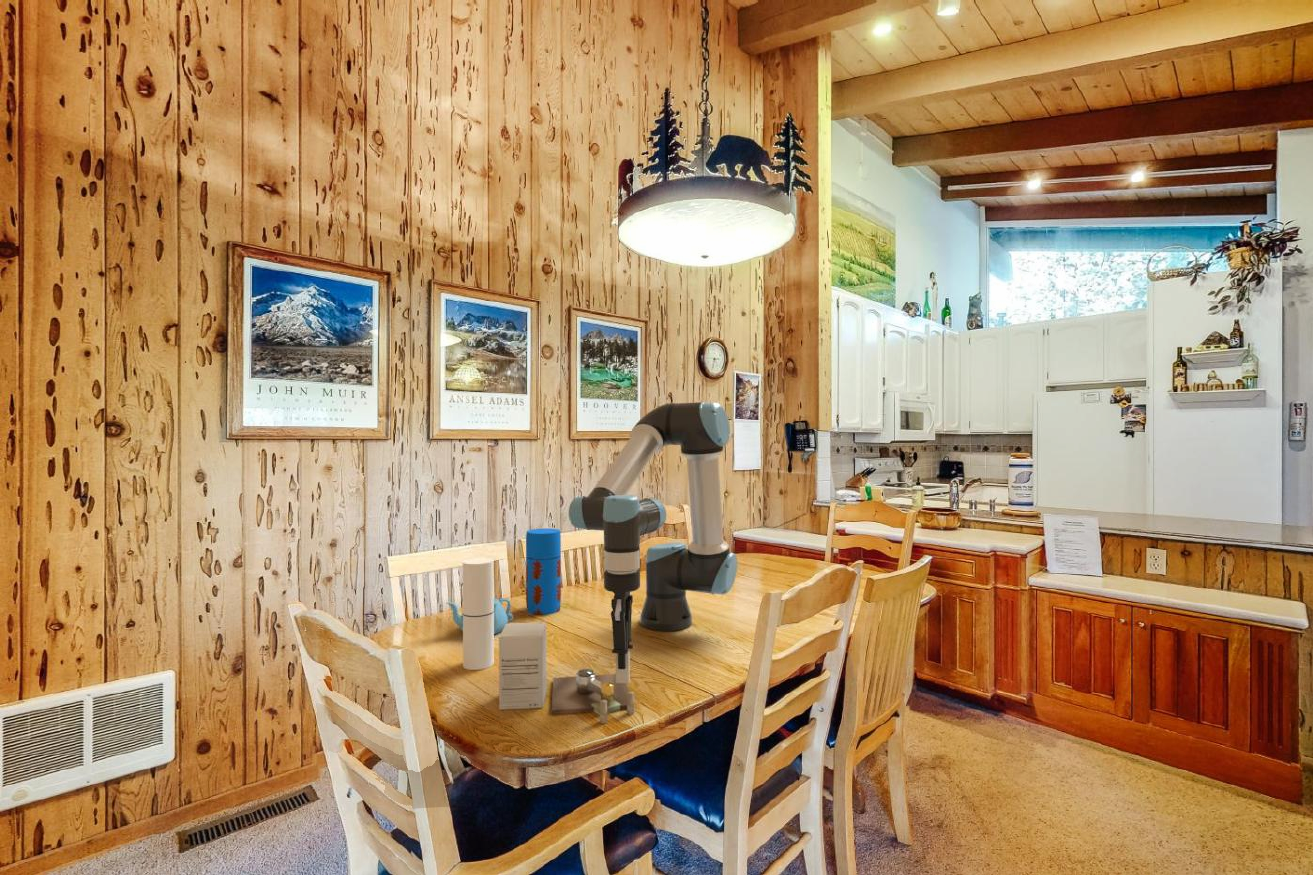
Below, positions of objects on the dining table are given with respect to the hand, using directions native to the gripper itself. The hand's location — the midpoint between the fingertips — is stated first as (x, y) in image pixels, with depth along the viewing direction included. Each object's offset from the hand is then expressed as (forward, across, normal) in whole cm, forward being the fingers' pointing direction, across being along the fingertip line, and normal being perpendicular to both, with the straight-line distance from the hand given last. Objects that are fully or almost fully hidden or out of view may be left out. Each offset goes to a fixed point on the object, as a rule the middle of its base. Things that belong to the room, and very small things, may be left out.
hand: (622, 681), depth 126 cm
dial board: (+4, +1, -7) cm, 8 cm away
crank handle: (+2, +2, -6) cm, 6 cm away
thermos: (+5, -60, -35) cm, 70 cm away
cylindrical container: (+4, -15, -38) cm, 41 cm away
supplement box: (+4, +3, -21) cm, 21 cm away
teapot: (+4, -38, -47) cm, 61 cm away
